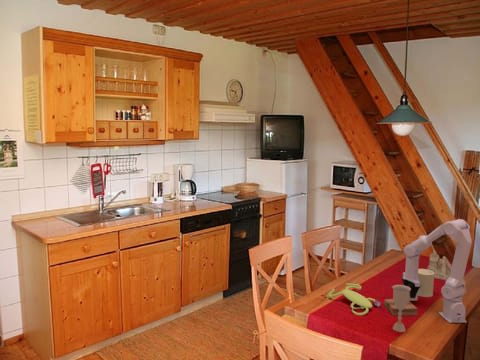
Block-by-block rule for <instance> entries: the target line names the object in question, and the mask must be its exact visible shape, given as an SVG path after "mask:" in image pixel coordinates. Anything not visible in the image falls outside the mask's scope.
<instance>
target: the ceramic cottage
mask: <svg viewBox="0 0 480 360" xmlns="http://www.w3.org/2000/svg"><path fill="white" fill-rule="evenodd" d="M451 268H452V263H450V261H449V259H448V258H447V257H446V256H444V255H443V256H442V258H440V255H439V254H437V253H436V251H435V250H432V253H430V255H429V262H428V265H427V267H426V269H427V270H431V271H433V272H434V273H435V274H434V279H438V280H442V281H447V279H448V278H449V276H450V272H451Z"/></svg>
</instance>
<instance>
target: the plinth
mask: <svg viewBox="0 0 480 360" xmlns="http://www.w3.org/2000/svg"><path fill="white" fill-rule="evenodd" d="M383 306H384V307H385V308H386V309H387V310H388V312H389V313H390V314H391V315H392V316H399V315H398V313H399V309H397V307H396V305H395V303H394V300H393V298H385V299H384V300H383ZM401 312H402V315H401V316H418V308H417V307H416V306H415V305H414V304H413V303H412V302H411V301H408V303H407V305H406V307H405V308H404V309H403V310H402V311H401Z"/></svg>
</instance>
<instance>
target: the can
mask: <svg viewBox="0 0 480 360" xmlns="http://www.w3.org/2000/svg"><path fill="white" fill-rule="evenodd" d="M434 274H435V273H434V272H433V271H431V270H427V268H426V269H425V268H418V280H419V282H420V285H421V287H420V288H419V290H418V296H419V297H421V298H431V297H433V296H434V285H435V284H434V283H435V278H434Z"/></svg>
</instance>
